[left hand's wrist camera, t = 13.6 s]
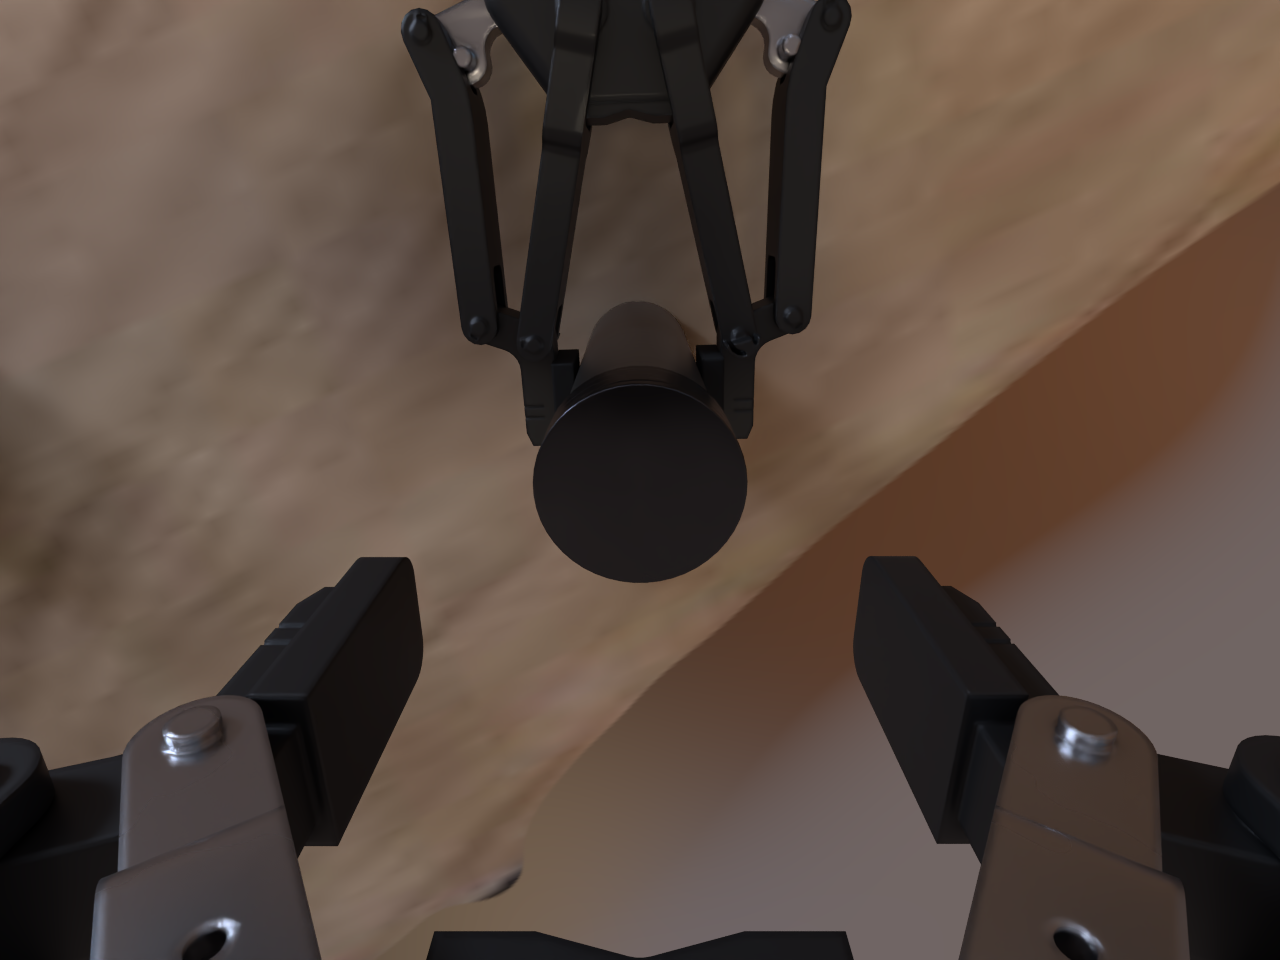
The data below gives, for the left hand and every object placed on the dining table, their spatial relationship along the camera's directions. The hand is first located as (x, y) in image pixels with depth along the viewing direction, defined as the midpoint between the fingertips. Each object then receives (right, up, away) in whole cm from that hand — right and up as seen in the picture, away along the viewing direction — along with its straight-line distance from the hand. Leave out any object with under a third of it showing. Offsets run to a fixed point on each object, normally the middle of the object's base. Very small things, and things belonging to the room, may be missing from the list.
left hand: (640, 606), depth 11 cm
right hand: (0, +1, +16) cm, 16 cm away
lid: (0, +2, +5) cm, 5 cm away
